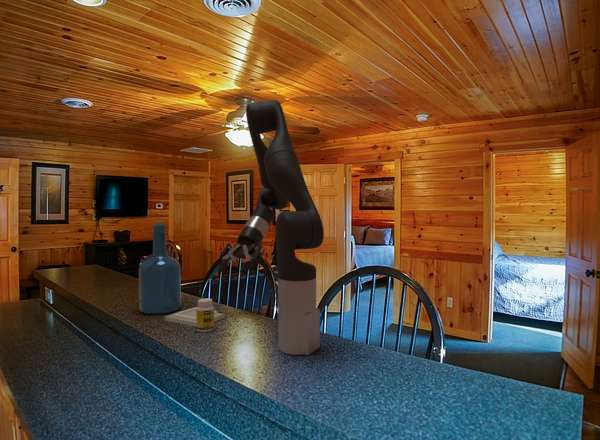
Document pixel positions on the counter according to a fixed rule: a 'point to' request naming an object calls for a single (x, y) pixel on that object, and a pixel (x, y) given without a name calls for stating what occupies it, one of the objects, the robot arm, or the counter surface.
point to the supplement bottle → (205, 315)
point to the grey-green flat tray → (189, 317)
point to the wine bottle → (159, 277)
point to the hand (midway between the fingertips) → (231, 272)
